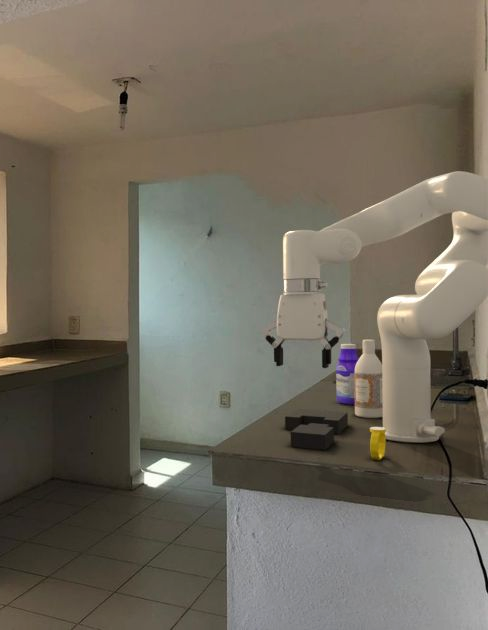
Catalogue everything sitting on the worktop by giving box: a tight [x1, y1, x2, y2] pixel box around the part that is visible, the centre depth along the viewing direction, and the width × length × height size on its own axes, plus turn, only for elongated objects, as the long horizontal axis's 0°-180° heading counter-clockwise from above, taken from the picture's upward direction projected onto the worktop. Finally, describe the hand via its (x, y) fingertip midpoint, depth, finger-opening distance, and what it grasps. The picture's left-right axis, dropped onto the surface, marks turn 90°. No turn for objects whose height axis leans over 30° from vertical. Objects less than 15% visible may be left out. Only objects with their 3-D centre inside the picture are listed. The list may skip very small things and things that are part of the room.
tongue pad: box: [290, 423, 335, 451], centre depth 141 cm, size 7×12×3 cm, turn 147°
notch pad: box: [284, 408, 349, 435], centre depth 157 cm, size 12×12×3 cm
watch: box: [369, 426, 387, 461], centre depth 127 cm, size 6×3×6 cm, turn 141°
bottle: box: [335, 343, 360, 406], centre depth 190 cm, size 7×6×17 cm
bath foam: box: [354, 339, 383, 419], centre depth 170 cm, size 7×7×20 cm
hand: (302, 366), depth 141 cm, fingers open, 9 cm apart
